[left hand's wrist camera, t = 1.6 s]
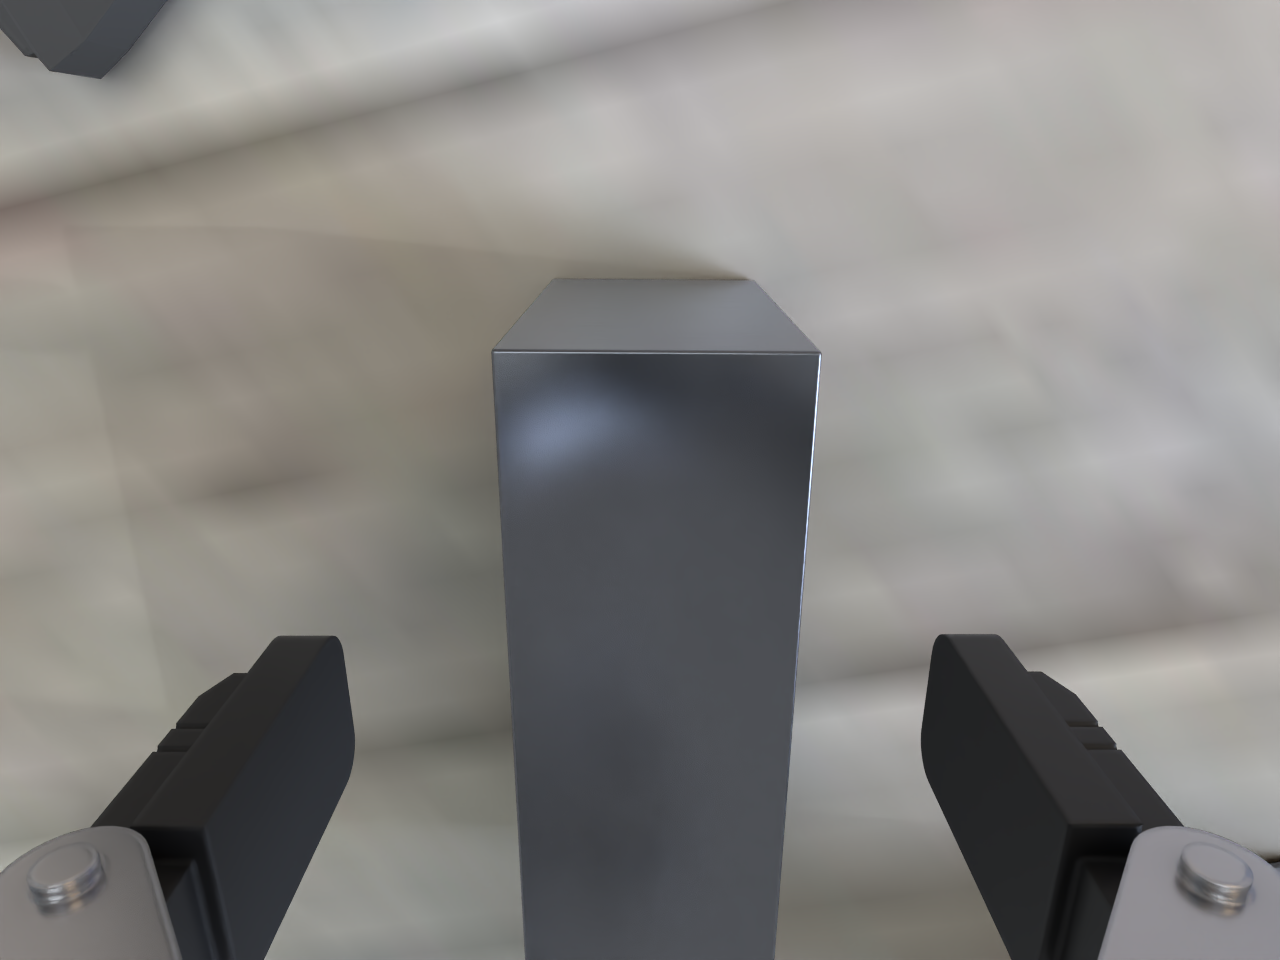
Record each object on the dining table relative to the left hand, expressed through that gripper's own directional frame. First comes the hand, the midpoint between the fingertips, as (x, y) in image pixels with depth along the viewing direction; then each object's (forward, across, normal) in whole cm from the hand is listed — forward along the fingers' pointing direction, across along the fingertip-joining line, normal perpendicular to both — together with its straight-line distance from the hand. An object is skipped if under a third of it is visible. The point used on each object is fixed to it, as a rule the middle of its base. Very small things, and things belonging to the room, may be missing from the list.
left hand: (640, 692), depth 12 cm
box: (+16, 0, -7) cm, 17 cm away
